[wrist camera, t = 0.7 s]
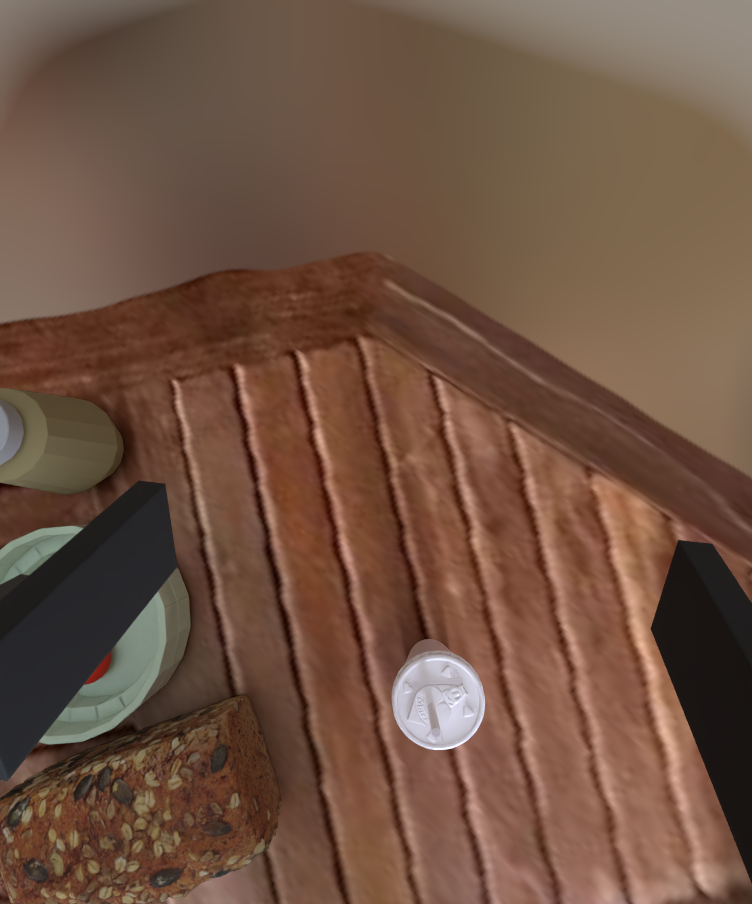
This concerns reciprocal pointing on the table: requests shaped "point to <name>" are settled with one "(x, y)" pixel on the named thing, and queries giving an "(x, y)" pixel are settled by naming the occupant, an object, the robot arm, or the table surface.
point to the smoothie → (437, 697)
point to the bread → (143, 813)
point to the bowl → (133, 657)
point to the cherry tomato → (100, 670)
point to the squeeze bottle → (55, 442)
